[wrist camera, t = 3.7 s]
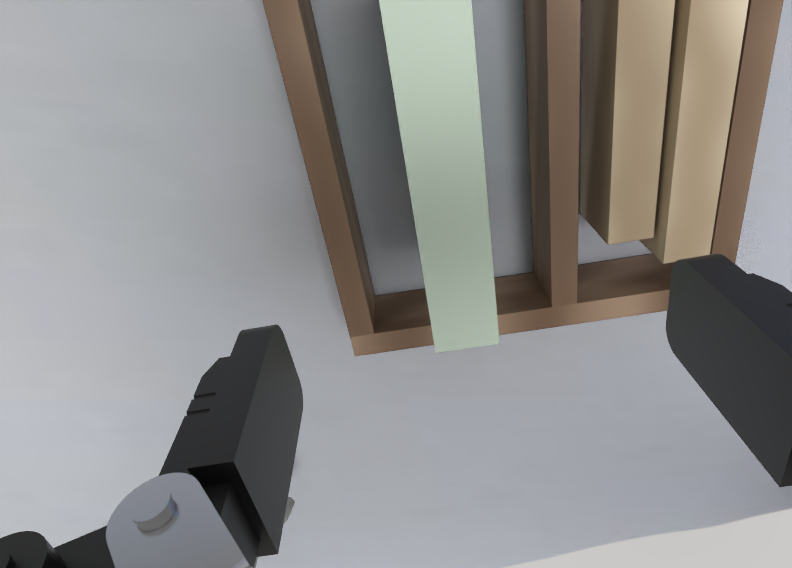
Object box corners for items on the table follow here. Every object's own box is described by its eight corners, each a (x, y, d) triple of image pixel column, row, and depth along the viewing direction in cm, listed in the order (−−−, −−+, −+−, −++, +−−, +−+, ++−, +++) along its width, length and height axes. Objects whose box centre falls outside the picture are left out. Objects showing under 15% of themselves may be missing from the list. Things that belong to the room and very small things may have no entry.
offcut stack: (690, -88, 20) (764, -104, 17) (660, 216, 27) (709, 256, 23) (582, -67, 21) (630, -78, 17) (579, 230, 27) (613, 271, 23)
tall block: (437, -24, 21) (469, -26, 13) (466, 239, 27) (499, 344, 19) (379, -13, 21) (377, -9, 14) (420, 247, 27) (435, 353, 20)
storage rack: (775, -211, 19) (851, -248, 16) (703, 265, 28) (742, 299, 25) (254, -104, 20) (231, -119, 17) (357, 317, 29) (355, 356, 26)
